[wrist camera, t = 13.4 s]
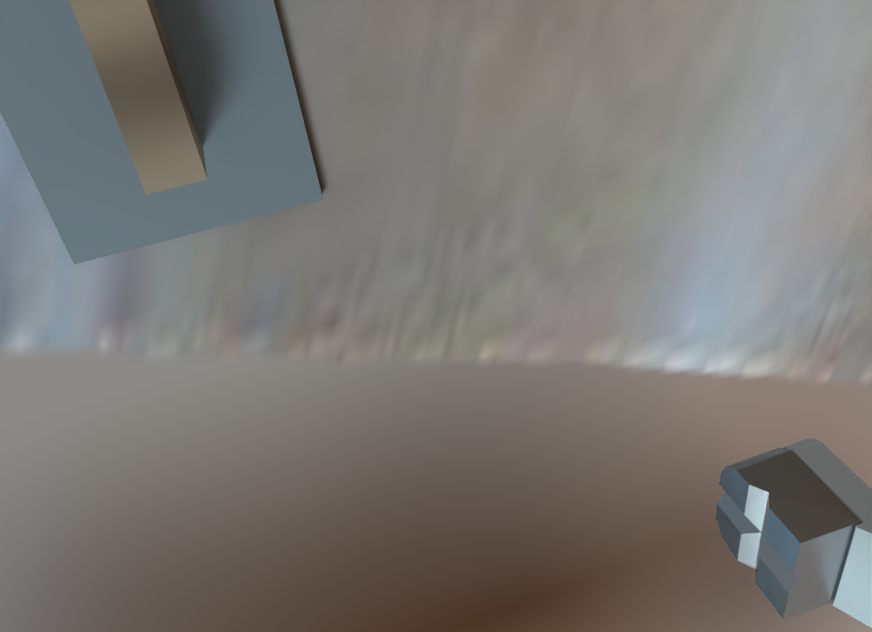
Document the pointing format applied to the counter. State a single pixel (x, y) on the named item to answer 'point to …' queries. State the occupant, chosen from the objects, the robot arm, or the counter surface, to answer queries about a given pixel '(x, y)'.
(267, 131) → the tool rest mat
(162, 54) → the tan stepped block
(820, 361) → the counter surface
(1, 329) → the counter surface
